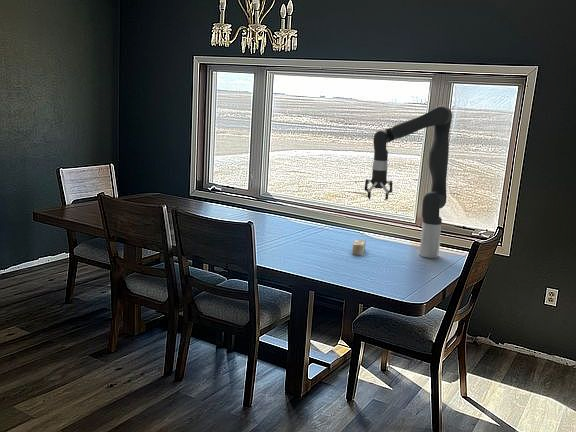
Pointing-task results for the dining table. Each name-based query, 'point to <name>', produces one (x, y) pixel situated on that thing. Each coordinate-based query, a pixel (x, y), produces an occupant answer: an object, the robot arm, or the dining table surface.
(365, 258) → the dining table surface
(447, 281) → the dining table surface
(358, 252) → the maple block
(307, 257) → the dining table surface
